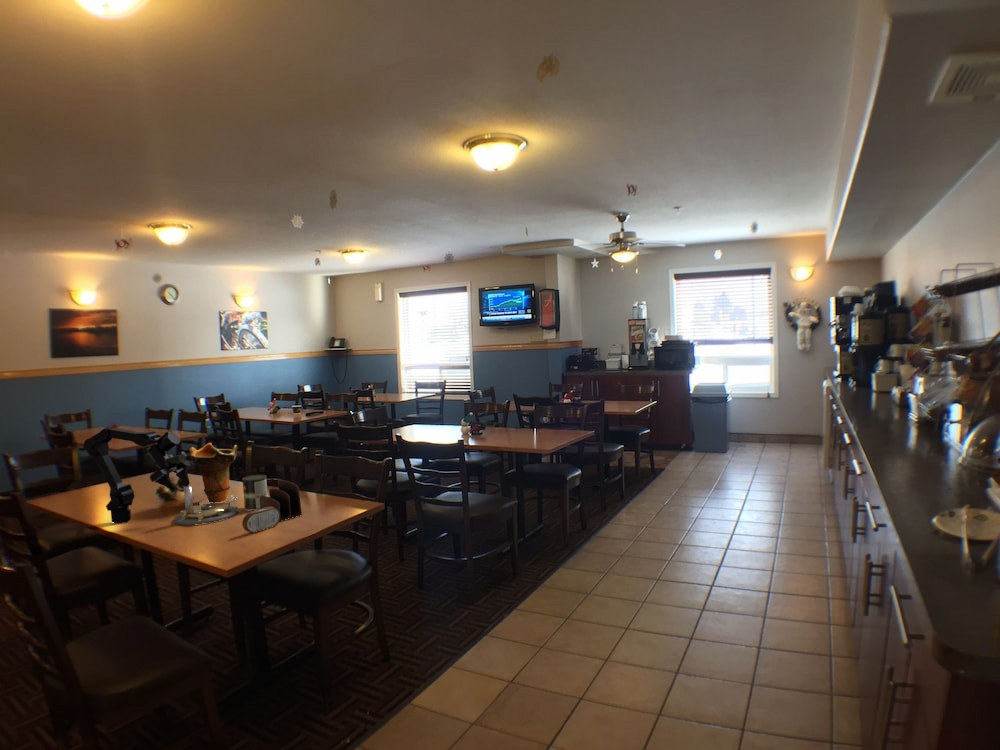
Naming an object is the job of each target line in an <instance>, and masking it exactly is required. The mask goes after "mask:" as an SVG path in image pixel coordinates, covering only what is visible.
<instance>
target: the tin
mask: <svg viewBox="0 0 1000 750" xmlns="http://www.w3.org/2000/svg"><path fill="white" fill-rule="evenodd" d="M279 520H280V512H279V511H278V510H277V509H276V508H274V507H266V508H262V509H258V510H254V511H248V512H247V513H246V514H245V515H244V517H243V519H242V527H243V529H244V530H245V532H248V533H250V534H251V533H252V532H255V533H257V532H256V531H259V530H262V531H264V530H263V529H266V530H268V529H267V528H269V529H271V528H270V527H272V526H275V527H276V526H277V525H278V524H279V523H280V521H279ZM272 528H273V527H272ZM259 532H260V531H259ZM252 534H253V533H252Z"/></svg>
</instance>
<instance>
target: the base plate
mask: <svg viewBox="0 0 1000 750" xmlns="http://www.w3.org/2000/svg"><path fill="white" fill-rule="evenodd" d="M230 506H233V509H232V510H228V511H227V512H225V513H223V514H222V515H219V516H218V515H216V516H211V517H205V518H203V519H198V518H187V519H182V515H180V513H178V514H177V515H176V516H174V523H175V524H176V523H177V524H176V525H178V524H181V525H180V526H186V525H190V526H196V525H195V524H202V523H209V522H214V521H218V522H220V521H219V520H222V519H225V520H227V519H226V518H228V519H230V518H229V517H231V518H233V517H235V516H236V515H238V513H239V507H238V506H236V505H232V504H230ZM234 515H235V516H234ZM232 516H233V517H232ZM222 521H223V520H222ZM214 523H215V522H214ZM209 524H210V523H209Z"/></svg>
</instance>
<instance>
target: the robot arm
mask: <svg viewBox="0 0 1000 750" xmlns="http://www.w3.org/2000/svg"><path fill="white" fill-rule="evenodd" d="M113 439H116V440H122V441H126V442H132V443H134V444H135V445H137V446H140V447H142V448H143V447H144V451H143V455H144V456H147V455H149V456H150V457H151V458H152V460H153V461H154V463H153V466H154V467H156V466H157V467H158V468H159V469H156V470H155V471H154V472H153V473H151V474H150V475H149V480H150V481H151V483H153V482H154V483H156V484H159V485H161V486H163V487H166V488H167V489H170V490H172V491H175V490H176V487H175V485H174V483H173V482H172V479H171V478H170V474H171V473H175V476H176V477H177V478H178V479H180V480H181V481H182V482H183V483H184V484H185V485H186V486H190V478H189V475H188V470H189V468H190V466H191V463H190V461H189V460H187V458H188V455H187V454H186V453H185V451H180V452H178V453H177V455H174V456H173V454H168V452H169V451H171V450H173V449H174V448H175V447H177V446H178V445H179V444H180V442H181V440H180V437H179V436H178V435H177V434H175V433H173V432H171V430H169V431H166V432H165V433H164V434H163V435H161V434H158V433H157V432H156V431H155V430H149V431H147V430H146V431H136V430H134V431H133V430H128V429H123V428H116V427H114V426H110V427H105V428H103V429H101V430H100V431H98V433H96V434H95V435H92V436H91V437H89V438H87V439H85V440H84V443H83V448H84V450H85V451H86V453H87V454H88V455H89V456H90V457H92V458H94V459H95V460H96V462H97V465H98V467H99V469H100V471H101V473H102V475H103V476H104V478H105V481H106V482H107V485H108V487H109V489H110V490H109V498H110V500H109V502H108V503H107V504H106V505H105V507H106V509H107V511H109V512H110V517H111V519H110V520H111V522H114V523H118V524H123V523H122V522H126V523H128V521H129V522H130V521H131V519H132V510H131V509H130V506H132V505H133V500H134V499H135V496H136V495H135V490H134V489H133V488H132V485H131V484H126V483H124V482H123V480H122V478H121V477H120V474H119V472H118V470H117V469H116V466H115V465H114V463H113V460H112V458H111V456H110V455H109V448H110V447H109V443H110V442H111V441H112V440H113ZM148 446H149V447H148ZM145 447H146V448H145Z"/></svg>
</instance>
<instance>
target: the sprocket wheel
mask: <svg viewBox="0 0 1000 750" xmlns="http://www.w3.org/2000/svg"><path fill="white" fill-rule="evenodd" d="M192 488H193V486H192V485H186V486H183V493H184V507H185V509H184V510H181V511H179V514H180V515H182V519H187V518H198V519H203V518H205V517H211V516H216V515H218V516H219V515H222V514H223V513H225V512H227V511H228V510H232V509H233V506H234V505H233V506H230V505H231V503H230V502H227V503H215V502H213V503H210V504H204V505H194V499H193V489H192Z"/></svg>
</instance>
